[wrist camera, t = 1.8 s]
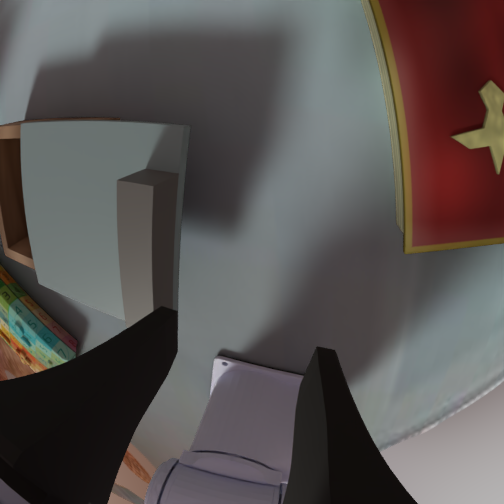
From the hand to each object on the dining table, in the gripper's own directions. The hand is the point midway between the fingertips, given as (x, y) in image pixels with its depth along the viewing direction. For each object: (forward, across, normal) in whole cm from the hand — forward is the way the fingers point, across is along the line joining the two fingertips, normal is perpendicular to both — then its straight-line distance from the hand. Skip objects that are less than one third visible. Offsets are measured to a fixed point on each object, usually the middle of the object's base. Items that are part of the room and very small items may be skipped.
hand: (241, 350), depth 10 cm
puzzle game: (+11, +30, +19) cm, 37 cm away
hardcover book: (+11, -9, -14) cm, 20 cm away
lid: (+6, +11, 0) cm, 13 cm away
